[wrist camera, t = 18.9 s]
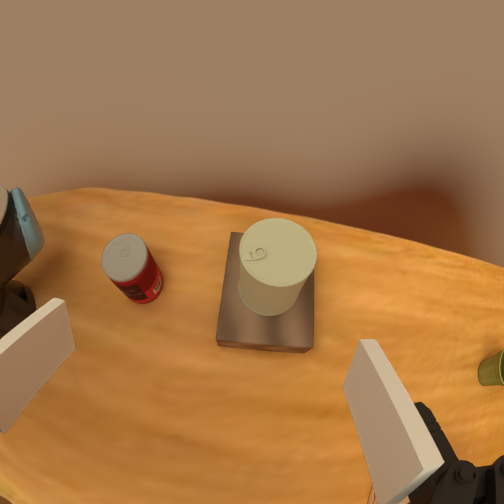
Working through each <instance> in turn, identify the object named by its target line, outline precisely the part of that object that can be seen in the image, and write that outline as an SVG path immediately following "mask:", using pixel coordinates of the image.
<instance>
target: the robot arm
mask: <svg viewBox="0 0 504 504" xmlns="http://www.w3.org/2000/svg"><path fill="white" fill-rule="evenodd" d="M43 245H44V237H43V233H42V231H41V228H40V226H39V224H38V221H37V219H36V217H35V215H34V213H33V211H32V209H31V206H30V204H29V202H28V201H27V199H26V197H25V195H24V193H23V192H22V191H21V189H20V188H18V187H16V188H15V189H12V190H11V192H10V193H9V192H8V191H7V189H6V188H5V187H4V186H3V185H2V184H0V431H1V432H2V433H3V434H4V435H5V434H6V433H7V431H8V430H9V429H10V427H11V426H12V425H13V423H14V422H15V421H16V419H17V418H18V417H19V416H20V414H21V413H22V412H23V410H24V409H25V408H26V407H27V405H28V404H29V403H30V402H31V400H32V399H33V398H34V397H35V396H36V394H37V393H38V392H39V391H40V389H41V388H42V387H43V386H44V385H45V384H46V382H47V381H48V380H49V379H50V378H51V376H52V375H53V374H54V373H55V372H56V371H57V370H58V368H59V367H60V366H61V365H62V364H63V363H64V362H65V360H66V359H67V358H68V357H69V356H70V355H71V354H72V353H73V351H74V350H75V349H76V346H75V342H74V338H73V334H72V330H71V326H70V321H69V317H68V312H67V307H66V301H65V300H62V299H58V298H53V299H52V300H50V301H49V302H47V303H46V304H45V305H43V306H42V307H41V308H39V309H38V310H37V311H35V301H34V297H33V295H32V293H31V291H30V290H29V288H28V287H26V286H25V285H24V284H22V283H21V282H19V281H16V280H11V279H12V278H13V277H14V276H15V275H16V274H17V273H18V272H19V271H20V270H21V269H23V268H24V267H25V266H26V265H27V264H28V263H29V262H30V261H32V260H33V258H34V256H35V255H36V254H37V253H38V252H39V251H40V250H41V249H42V247H43ZM342 387H343V390H344V393H345V396H346V399H347V402H348V405H349V408H350V411H351V414H352V418H353V421H354V424H355V427H356V430H357V433H358V436H359V440H360V443H361V446H362V449H363V453H364V456H365V459H366V463H367V466H368V469H369V473H370V476H371V480H372V483H373V487H374V490H375V494H376V498H377V502H378V504H397V503H400V502H401V501H402V500H403V499H405V498H406V497H407V496H408V498H409V500H410V502H409V503H407V504H504V455H503V456H500V457H499V458H498V459H497V460H496V461H495V462H494V463H493V464H492V465H489V466H482V467H475V466H474V465H473V464H472V463H470V462H468V461H465V460H460V461H459V459H458V458H457V457H456V455H455V453H454V451H453V449H452V447H451V445H450V443H449V442H448V440H447V438H446V436H445V434H444V433H443V431H442V430H441V427H440V426H439V424H438V422H436V419H435V417H434V415H433V413H432V412H431V410H430V409H429V408H428V407H426V406H425V405H424V404H423V403H422V402H417V403H413V401H412V400H411V398H410V396H409V394H408V393H407V391H406V389H405V387H404V386H403V384H402V382H401V380H400V379H399V377H398V375H397V374H396V372H395V370H394V369H393V367H392V365H391V364H390V362H389V360H388V359H387V357H386V355H385V354H384V352H383V350H382V349H381V347H380V346H379V344H378V342H377V341H376V339H360V340H359V343H358V346H357V349H356V351H355V354H354V357H353V360H352V363H351V365H350V368H349V371H348V373H347V376H346V379H345V381H344V384H343V386H342Z"/></svg>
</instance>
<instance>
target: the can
mask: <svg viewBox="0 0 504 504" xmlns="http://www.w3.org/2000/svg"><path fill="white" fill-rule="evenodd" d="M239 255H240V279H239V283H238V290H239V295H240V297H241V299H242V301H243V303H244V304H245V305H246V306H247V307H248V308H249V309H250V310H252V311H253V312H255V313H257V314H260V315H264V316H275V315H279V314H282V313H284V312H286V311H287V310H289V309H290V308H291V307H292V306H293V304H294V303H295V301H296V299H297V297H298V294H299V292H300V290H301V288H302V287H303V285H304V283H305V281H306V280H307V278H308V276H309V275H310V274H311V272H312V271H313V269H314V267H315V264H316V260H317V249H316V245H315V243H314V240H313V239H312V237H311V235H310V234H309V233H308V232H307V231H306V230H305V229H304V228H303V227H302V226H300V225H299V224H297V223H295V222H293V221H290V220H287V219H282V218H269V219H264V220H261V221H259V222H257V223H255V224H253V225H252V226H251V227H249V228H248V229H247V231H246V232H245V233H244V235H243V236H242V239H241V241H240V246H239Z"/></svg>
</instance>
